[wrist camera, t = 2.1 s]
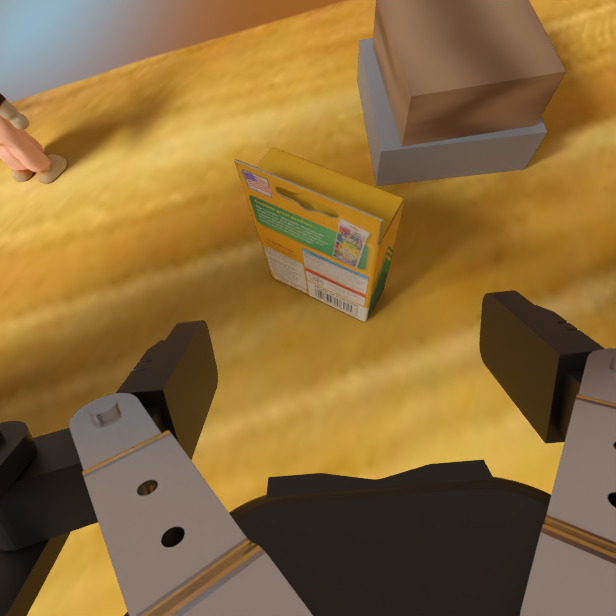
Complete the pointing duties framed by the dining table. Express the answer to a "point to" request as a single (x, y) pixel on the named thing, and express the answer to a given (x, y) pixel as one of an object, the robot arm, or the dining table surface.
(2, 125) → the grandmother figurine
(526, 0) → the tower top block
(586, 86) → the dining table surface
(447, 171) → the tower base block
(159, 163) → the dining table surface
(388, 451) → the dining table surface
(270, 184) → the crayon box
